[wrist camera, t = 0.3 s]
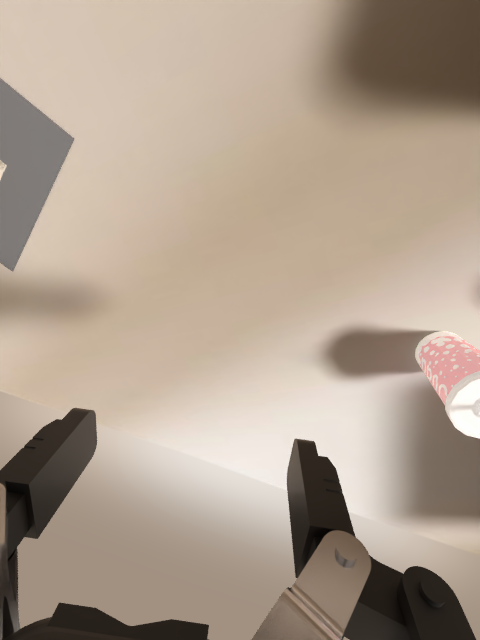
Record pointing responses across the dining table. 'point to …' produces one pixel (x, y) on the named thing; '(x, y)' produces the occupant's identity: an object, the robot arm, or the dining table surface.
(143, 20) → the dining table surface
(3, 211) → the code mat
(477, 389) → the beverage cup
